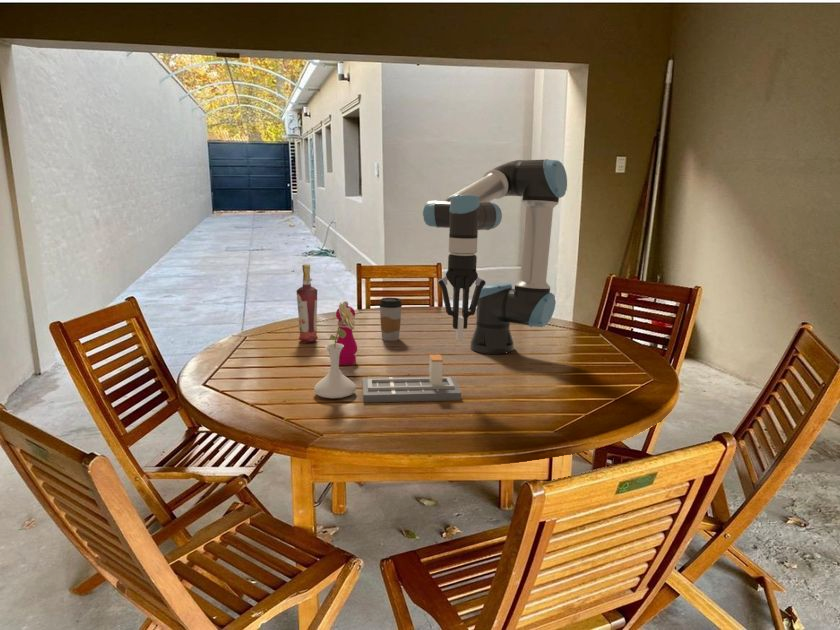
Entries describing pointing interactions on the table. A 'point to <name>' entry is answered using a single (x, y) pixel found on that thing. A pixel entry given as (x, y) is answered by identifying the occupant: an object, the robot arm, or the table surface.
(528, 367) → the table surface
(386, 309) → the coffee cup
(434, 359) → the fader
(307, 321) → the liquor
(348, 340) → the pepper mill
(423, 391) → the panel
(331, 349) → the flower in vase
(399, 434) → the table surface
